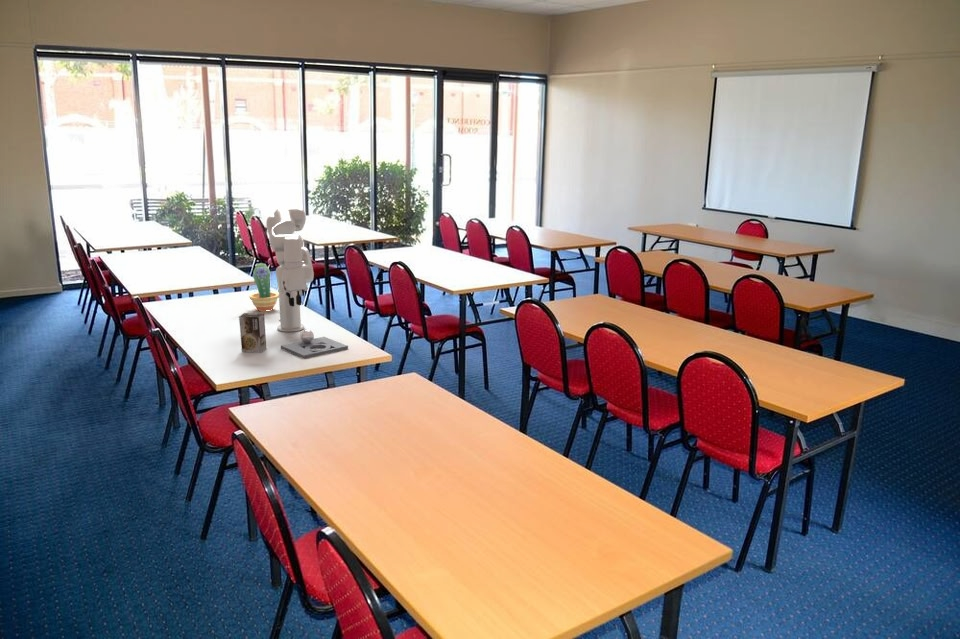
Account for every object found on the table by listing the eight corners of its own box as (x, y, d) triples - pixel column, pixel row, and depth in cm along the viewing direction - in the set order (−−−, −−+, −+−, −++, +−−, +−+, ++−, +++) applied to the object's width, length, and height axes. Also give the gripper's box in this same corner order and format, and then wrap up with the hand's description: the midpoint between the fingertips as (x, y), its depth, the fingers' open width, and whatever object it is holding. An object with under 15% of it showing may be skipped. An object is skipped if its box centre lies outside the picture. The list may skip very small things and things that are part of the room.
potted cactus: (244, 311, 388) (240, 265, 382) (260, 305, 403) (257, 260, 396) (269, 314, 384) (266, 267, 378) (285, 307, 398) (283, 262, 392)
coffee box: (267, 348, 323) (264, 313, 319) (261, 353, 317) (259, 316, 313) (247, 347, 324) (244, 312, 320) (241, 352, 318) (238, 316, 314)
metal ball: (297, 342, 328) (297, 329, 327) (309, 340, 332) (309, 327, 330) (304, 345, 324) (304, 332, 322) (316, 342, 328) (316, 330, 326)
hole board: (280, 348, 324) (280, 345, 323) (324, 339, 338) (324, 336, 338) (303, 358, 310) (303, 355, 309) (348, 349, 324) (348, 345, 324)
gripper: (305, 262, 334) (307, 301, 338) (272, 265, 323) (274, 306, 328) (313, 264, 329) (315, 304, 333) (280, 268, 318) (283, 309, 322)
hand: (295, 305), depth 330 cm, fingers open, 2 cm apart
